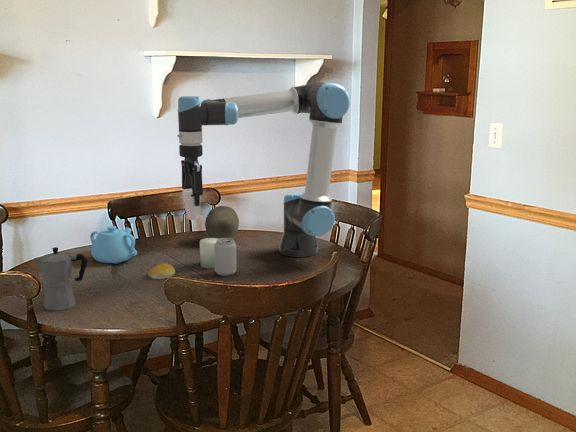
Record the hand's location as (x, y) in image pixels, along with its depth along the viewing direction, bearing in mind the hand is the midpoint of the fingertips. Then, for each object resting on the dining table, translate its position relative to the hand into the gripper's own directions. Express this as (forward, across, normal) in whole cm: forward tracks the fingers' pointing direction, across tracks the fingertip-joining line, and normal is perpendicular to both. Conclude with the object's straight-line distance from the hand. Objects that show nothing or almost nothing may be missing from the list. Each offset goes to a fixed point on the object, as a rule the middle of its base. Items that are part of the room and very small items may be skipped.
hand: (192, 212), depth 211 cm
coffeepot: (+22, +9, -44) cm, 50 cm away
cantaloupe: (+22, -33, +24) cm, 47 cm away
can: (+22, +3, +10) cm, 25 cm away
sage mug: (+22, -8, +9) cm, 25 cm away
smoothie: (+2, 0, 0) cm, 2 cm away
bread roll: (+22, -5, -10) cm, 25 cm away
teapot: (+22, -32, -19) cm, 43 cm away
